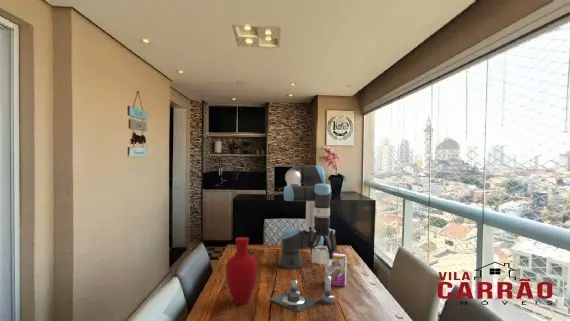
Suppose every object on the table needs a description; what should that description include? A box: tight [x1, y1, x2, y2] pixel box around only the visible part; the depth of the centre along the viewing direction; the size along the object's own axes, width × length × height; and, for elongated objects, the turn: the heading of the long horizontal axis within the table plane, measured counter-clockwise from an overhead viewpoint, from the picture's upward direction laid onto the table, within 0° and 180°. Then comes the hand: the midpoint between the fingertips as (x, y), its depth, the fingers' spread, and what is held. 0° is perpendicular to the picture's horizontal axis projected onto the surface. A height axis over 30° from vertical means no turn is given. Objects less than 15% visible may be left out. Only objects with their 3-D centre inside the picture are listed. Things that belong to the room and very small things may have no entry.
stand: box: [320, 275, 335, 305], centre depth 154 cm, size 6×6×12 cm
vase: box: [225, 236, 258, 305], centre depth 153 cm, size 15×15×30 cm
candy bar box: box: [324, 252, 347, 288], centre depth 175 cm, size 11×5×16 cm, turn 71°
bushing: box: [313, 245, 329, 265], centre depth 154 cm, size 8×8×6 cm
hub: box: [269, 278, 318, 313], centre depth 153 cm, size 18×14×10 cm
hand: (321, 263), depth 154 cm, fingers closed on bushing, 8 cm apart
